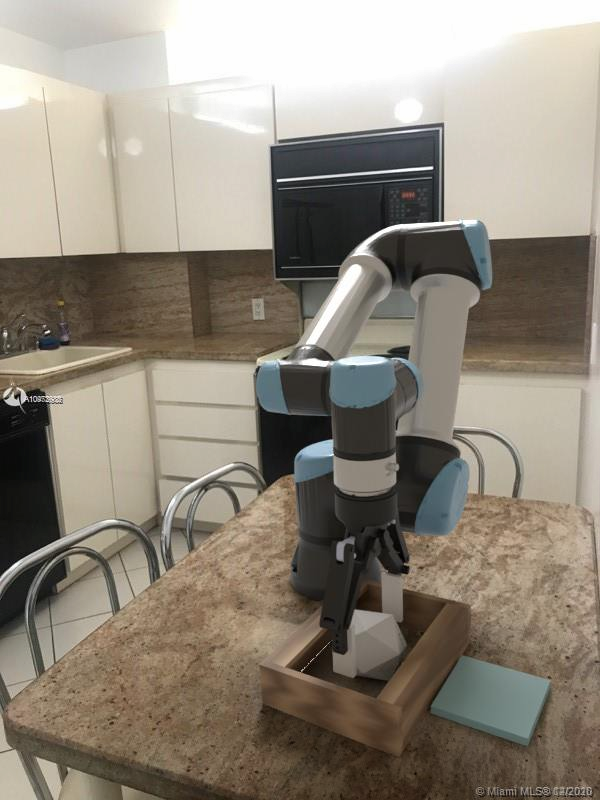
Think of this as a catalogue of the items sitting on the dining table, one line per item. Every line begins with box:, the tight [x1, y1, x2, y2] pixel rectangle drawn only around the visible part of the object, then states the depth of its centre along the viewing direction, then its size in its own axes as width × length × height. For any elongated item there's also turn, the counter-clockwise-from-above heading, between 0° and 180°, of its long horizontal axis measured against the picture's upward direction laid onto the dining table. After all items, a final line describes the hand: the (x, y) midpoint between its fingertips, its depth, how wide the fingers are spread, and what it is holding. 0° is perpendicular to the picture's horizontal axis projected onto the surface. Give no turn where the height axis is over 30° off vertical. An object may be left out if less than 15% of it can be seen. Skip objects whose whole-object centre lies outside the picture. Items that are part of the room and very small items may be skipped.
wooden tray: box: [258, 579, 472, 758], centre depth 85 cm, size 18×24×6 cm
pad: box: [430, 654, 552, 747], centre depth 79 cm, size 11×11×1 cm
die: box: [351, 610, 408, 682], centre depth 85 cm, size 8×9×10 cm
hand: (370, 644), depth 84 cm, fingers open, 13 cm apart
